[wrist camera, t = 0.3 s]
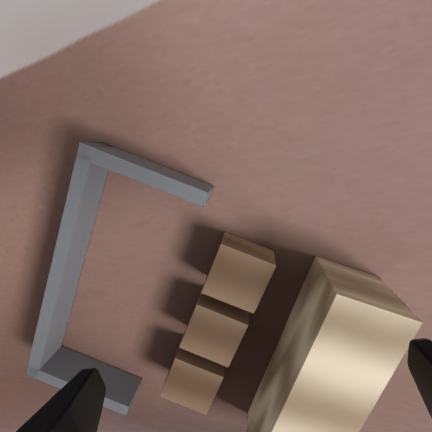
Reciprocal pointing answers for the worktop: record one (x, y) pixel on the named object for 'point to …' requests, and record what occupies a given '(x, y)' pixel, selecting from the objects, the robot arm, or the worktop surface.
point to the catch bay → (74, 258)
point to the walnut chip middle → (215, 330)
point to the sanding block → (333, 353)
